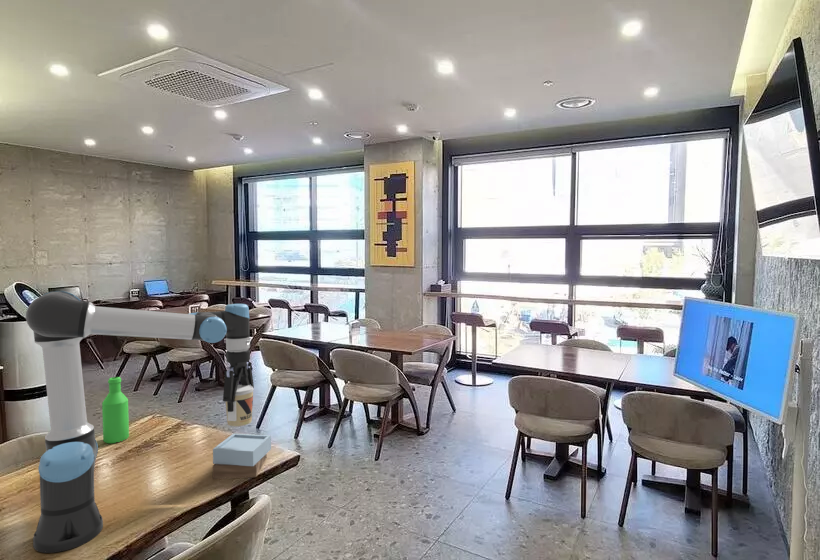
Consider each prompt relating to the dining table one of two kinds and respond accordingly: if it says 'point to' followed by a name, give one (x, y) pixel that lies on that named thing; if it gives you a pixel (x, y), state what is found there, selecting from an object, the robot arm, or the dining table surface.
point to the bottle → (115, 413)
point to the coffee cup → (242, 406)
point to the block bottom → (237, 470)
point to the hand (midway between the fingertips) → (239, 415)
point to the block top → (242, 449)
